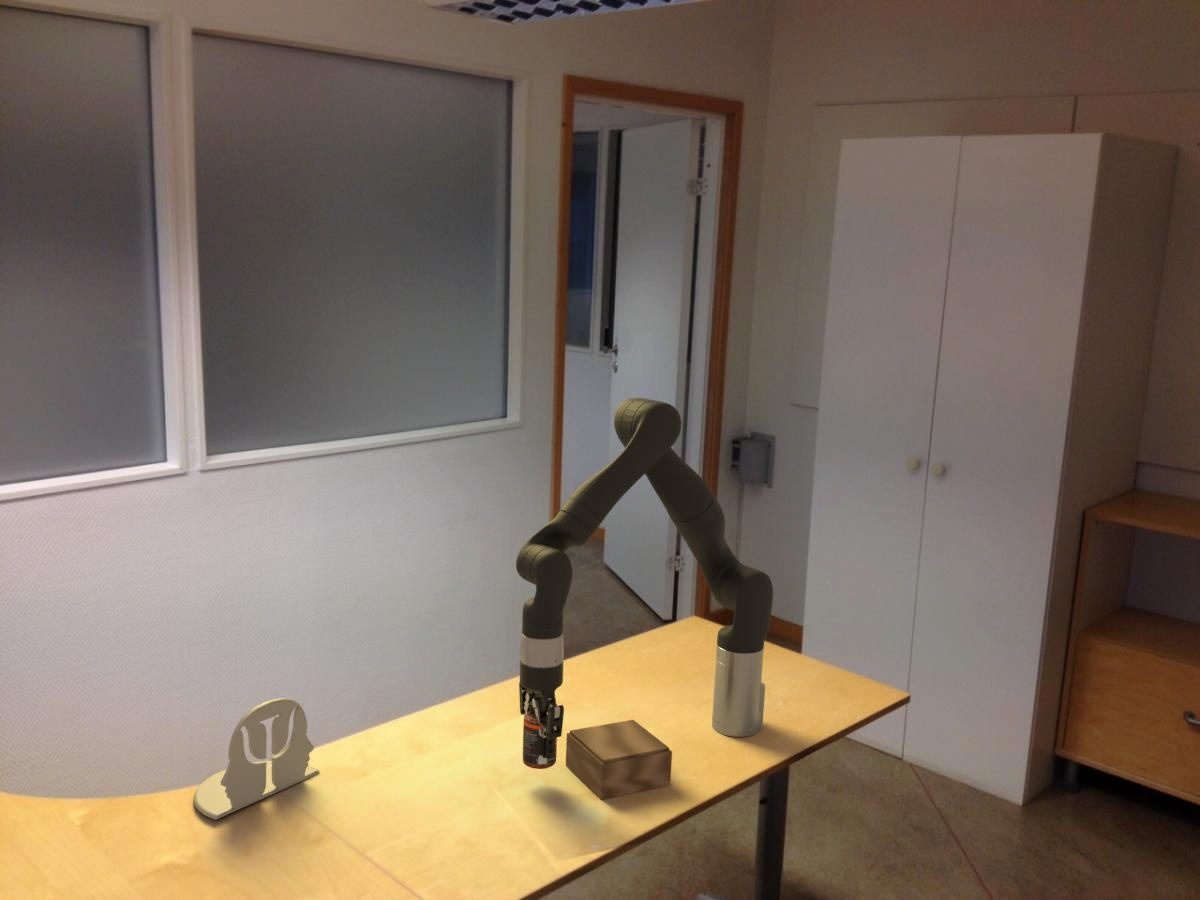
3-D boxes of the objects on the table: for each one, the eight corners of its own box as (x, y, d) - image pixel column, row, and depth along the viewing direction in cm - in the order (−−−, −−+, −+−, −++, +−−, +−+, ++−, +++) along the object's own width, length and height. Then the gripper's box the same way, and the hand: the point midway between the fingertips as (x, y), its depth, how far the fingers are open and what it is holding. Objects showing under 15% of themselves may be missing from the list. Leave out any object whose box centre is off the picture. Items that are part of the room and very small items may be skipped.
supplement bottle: (551, 772, 192) (553, 710, 190) (518, 768, 193) (519, 706, 191) (559, 757, 197) (561, 697, 196) (527, 753, 199) (528, 693, 197)
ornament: (216, 820, 179) (214, 722, 177) (166, 795, 187) (164, 701, 184) (321, 773, 197) (321, 683, 195) (272, 752, 205) (271, 665, 202)
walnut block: (632, 753, 210) (633, 718, 209) (670, 785, 198) (672, 748, 197) (565, 766, 204) (567, 730, 203) (600, 799, 192) (602, 761, 190)
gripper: (579, 668, 187) (576, 762, 190) (544, 641, 200) (542, 729, 203) (539, 675, 184) (536, 770, 187) (505, 647, 196) (504, 736, 199)
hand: (539, 748), depth 195 cm, fingers closed on supplement bottle, 6 cm apart
